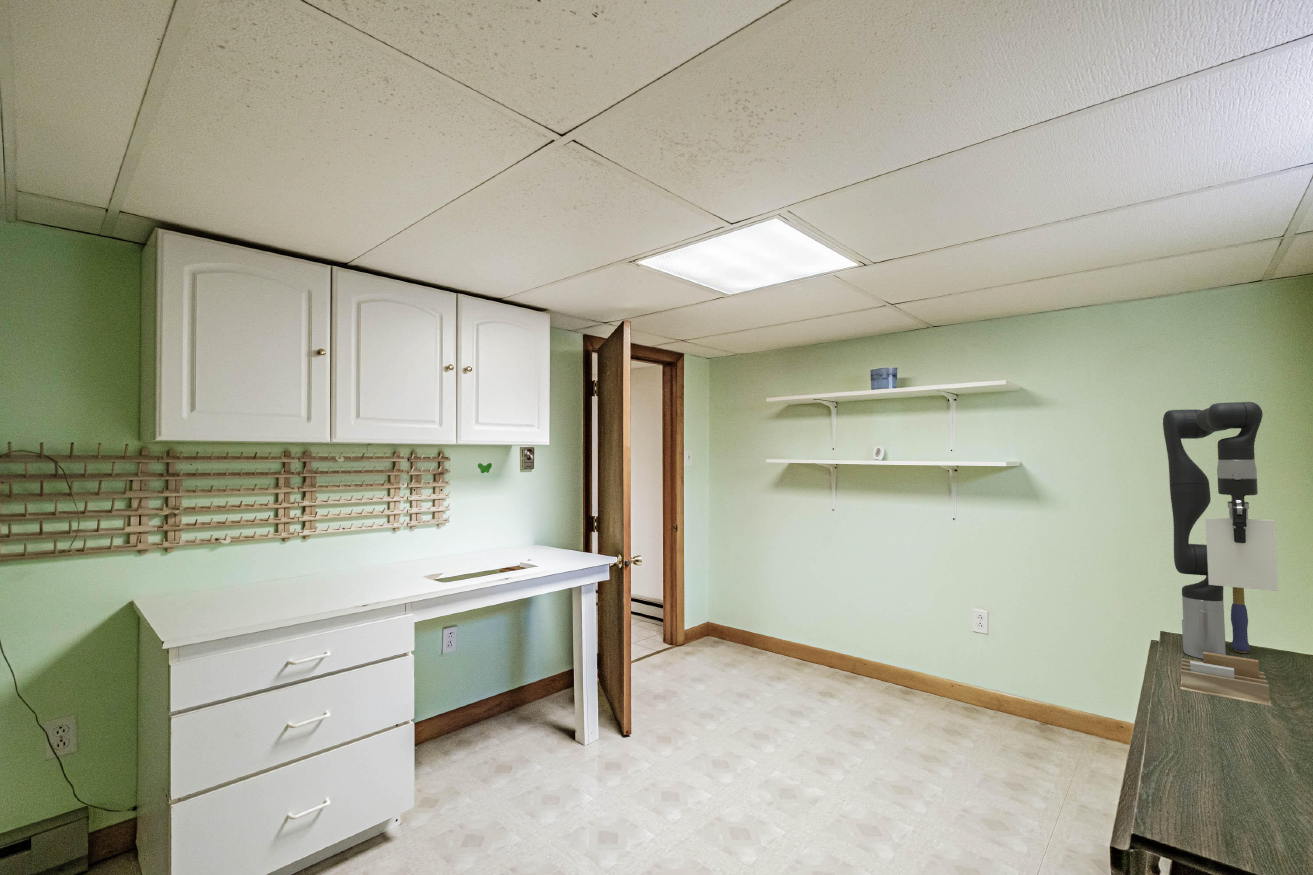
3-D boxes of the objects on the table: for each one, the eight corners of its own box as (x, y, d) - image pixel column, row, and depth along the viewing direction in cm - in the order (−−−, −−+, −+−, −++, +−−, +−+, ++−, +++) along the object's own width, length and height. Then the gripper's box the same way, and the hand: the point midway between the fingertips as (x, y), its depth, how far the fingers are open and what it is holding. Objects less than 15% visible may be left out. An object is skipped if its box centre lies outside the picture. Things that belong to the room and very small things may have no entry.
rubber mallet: (1271, 654, 179) (1266, 554, 180) (1268, 660, 174) (1264, 557, 175) (1215, 645, 188) (1211, 550, 189) (1211, 649, 183) (1207, 552, 185)
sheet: (1208, 583, 162) (1205, 517, 162) (1277, 589, 153) (1273, 520, 154) (1208, 584, 160) (1205, 517, 161) (1278, 591, 151) (1274, 520, 152)
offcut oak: (1204, 682, 153) (1202, 651, 153) (1259, 692, 146) (1257, 660, 146) (1204, 685, 151) (1203, 653, 152) (1260, 695, 145) (1258, 662, 145)
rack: (1181, 676, 161) (1180, 656, 161) (1265, 691, 150) (1264, 670, 150) (1180, 693, 149) (1179, 672, 149) (1272, 711, 138) (1271, 688, 139)
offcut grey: (1191, 684, 152) (1190, 660, 152) (1234, 692, 146) (1233, 668, 147) (1191, 686, 150) (1190, 662, 150) (1235, 695, 145) (1234, 670, 145)
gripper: (1216, 476, 165) (1219, 538, 165) (1218, 477, 155) (1221, 543, 154) (1254, 476, 160) (1257, 540, 160) (1259, 477, 150) (1262, 546, 149)
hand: (1239, 542), depth 157 cm, fingers closed on sheet, 2 cm apart
